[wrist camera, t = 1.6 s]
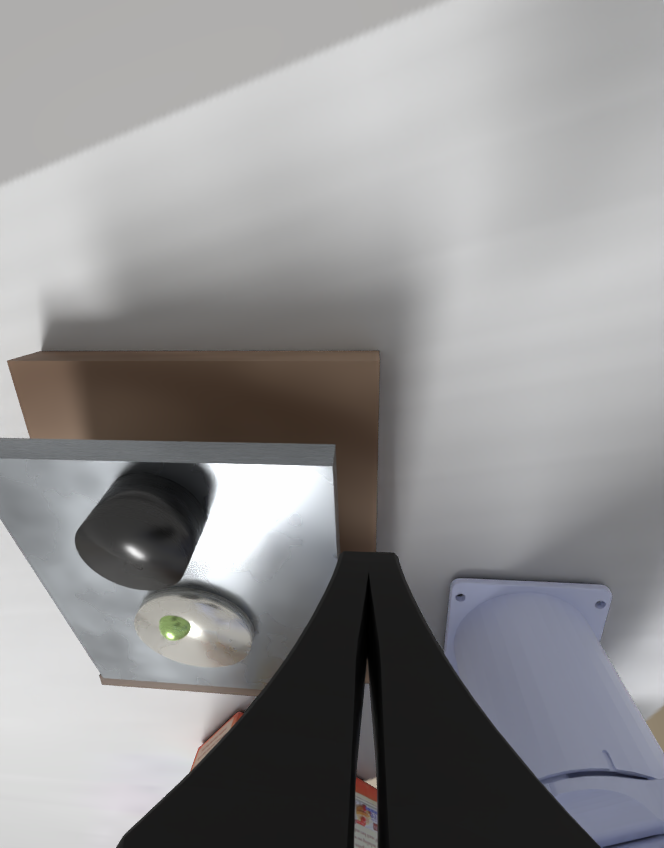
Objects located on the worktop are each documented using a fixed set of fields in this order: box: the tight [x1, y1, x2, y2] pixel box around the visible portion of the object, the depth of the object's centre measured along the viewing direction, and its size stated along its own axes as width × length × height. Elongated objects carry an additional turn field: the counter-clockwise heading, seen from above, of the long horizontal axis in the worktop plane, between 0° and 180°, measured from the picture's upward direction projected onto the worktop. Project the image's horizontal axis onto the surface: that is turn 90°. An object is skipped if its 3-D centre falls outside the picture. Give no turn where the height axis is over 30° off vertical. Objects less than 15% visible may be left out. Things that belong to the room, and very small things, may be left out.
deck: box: [0, 438, 340, 690], centre depth 18 cm, size 15×13×3 cm
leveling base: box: [7, 351, 380, 696], centre depth 21 cm, size 18×16×3 cm
